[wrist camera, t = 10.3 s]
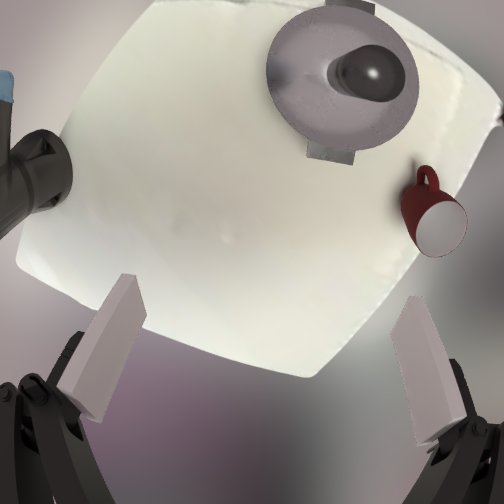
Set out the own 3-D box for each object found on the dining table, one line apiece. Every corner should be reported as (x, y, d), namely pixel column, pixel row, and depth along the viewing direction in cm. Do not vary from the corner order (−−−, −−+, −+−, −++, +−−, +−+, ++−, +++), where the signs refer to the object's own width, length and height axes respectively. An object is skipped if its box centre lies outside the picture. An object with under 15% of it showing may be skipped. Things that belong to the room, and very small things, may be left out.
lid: (261, 133, 28) (248, 162, 18) (274, 2, 20) (267, -43, 10) (395, 157, 27) (444, 199, 18) (414, 34, 19) (475, 21, 9)
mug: (382, 163, 35) (409, 189, 27) (430, 151, 33) (466, 174, 24) (394, 227, 40) (416, 265, 32) (437, 214, 38) (466, 248, 29)
